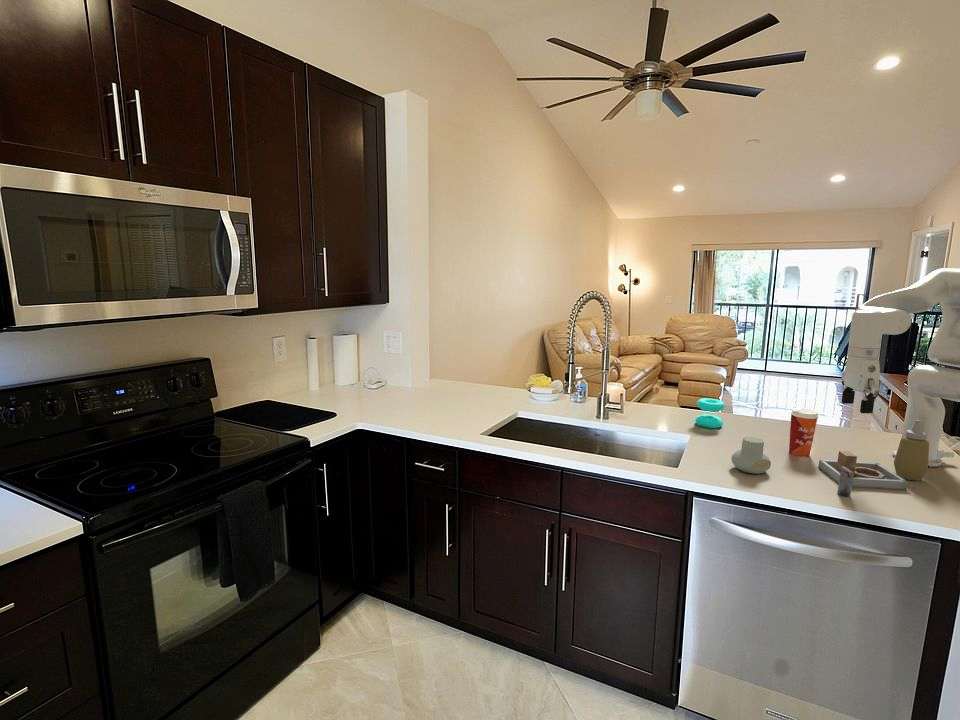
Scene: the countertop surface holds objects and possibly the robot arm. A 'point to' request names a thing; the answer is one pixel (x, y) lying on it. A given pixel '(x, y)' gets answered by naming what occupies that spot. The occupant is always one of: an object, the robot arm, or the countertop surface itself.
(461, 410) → the countertop surface
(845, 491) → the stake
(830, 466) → the tray
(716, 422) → the donuts
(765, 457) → the air freshener
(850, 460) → the tabbed ring
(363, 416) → the countertop surface
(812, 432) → the coffee cup
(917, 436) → the squeeze bottle
